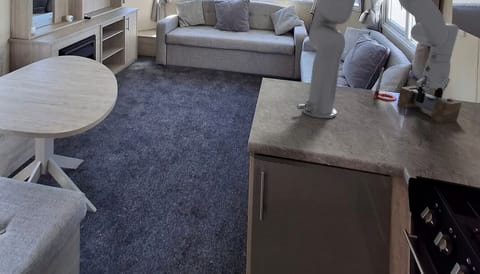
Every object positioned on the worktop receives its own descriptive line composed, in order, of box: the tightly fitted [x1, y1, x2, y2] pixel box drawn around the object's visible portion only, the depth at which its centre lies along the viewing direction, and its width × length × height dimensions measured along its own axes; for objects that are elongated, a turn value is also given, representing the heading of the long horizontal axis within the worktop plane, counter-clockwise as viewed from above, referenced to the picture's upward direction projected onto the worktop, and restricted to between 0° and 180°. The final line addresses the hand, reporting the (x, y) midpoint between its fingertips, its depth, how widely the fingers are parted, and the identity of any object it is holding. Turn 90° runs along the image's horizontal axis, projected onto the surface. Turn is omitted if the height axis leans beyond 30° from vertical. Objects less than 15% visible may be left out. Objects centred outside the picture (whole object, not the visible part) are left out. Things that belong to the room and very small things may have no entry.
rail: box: [411, 89, 449, 112], centre depth 154 cm, size 17×3×5 cm, turn 26°
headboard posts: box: [397, 85, 463, 124], centre depth 154 cm, size 22×8×8 cm, turn 26°
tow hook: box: [373, 67, 397, 102], centre depth 168 cm, size 8×13×9 cm
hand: (428, 101), depth 153 cm, fingers open, 9 cm apart
